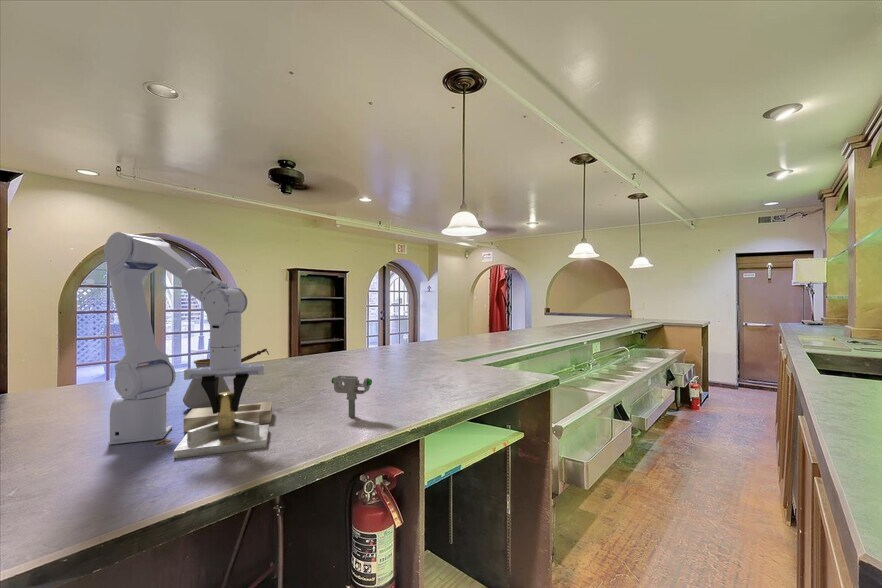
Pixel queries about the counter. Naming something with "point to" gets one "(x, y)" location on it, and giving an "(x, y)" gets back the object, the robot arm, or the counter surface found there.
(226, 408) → the axle
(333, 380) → the mechanical component
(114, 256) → the robot arm
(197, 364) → the coffee pot
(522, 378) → the counter surface
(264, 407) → the beam
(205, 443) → the v-block
